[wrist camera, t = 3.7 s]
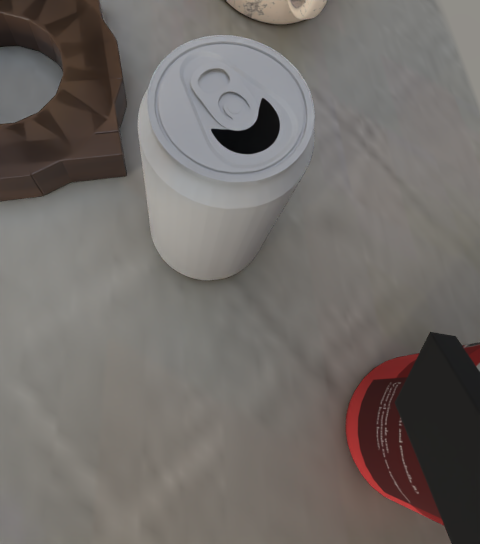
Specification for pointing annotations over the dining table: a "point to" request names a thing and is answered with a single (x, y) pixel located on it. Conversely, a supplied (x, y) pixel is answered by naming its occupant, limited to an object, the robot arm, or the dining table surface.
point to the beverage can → (221, 151)
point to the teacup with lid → (279, 9)
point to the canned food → (390, 436)
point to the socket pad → (64, 100)
